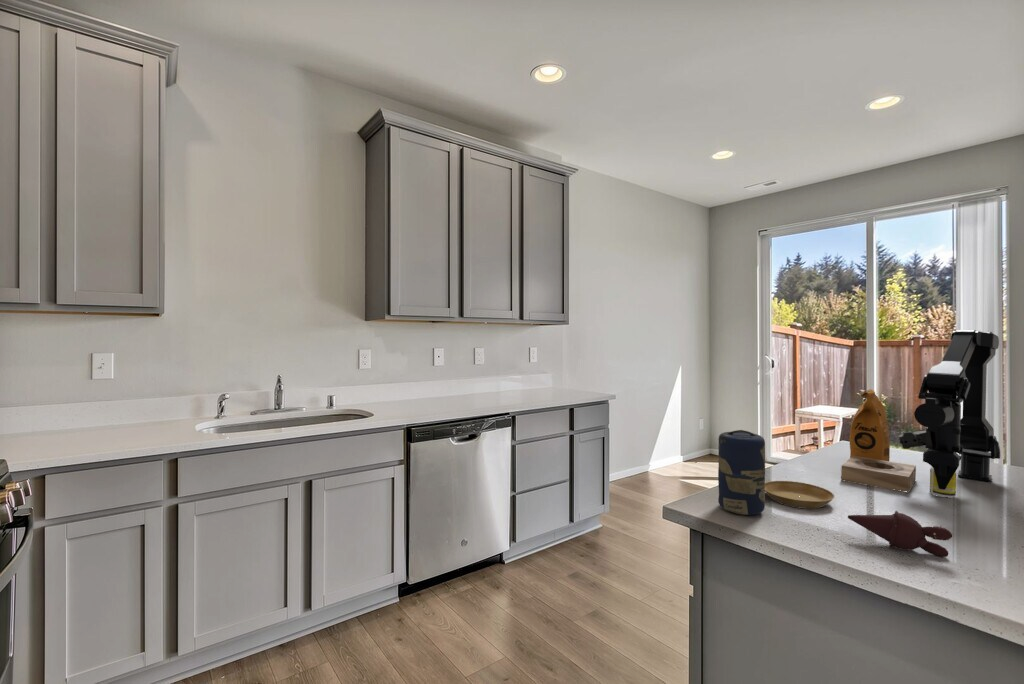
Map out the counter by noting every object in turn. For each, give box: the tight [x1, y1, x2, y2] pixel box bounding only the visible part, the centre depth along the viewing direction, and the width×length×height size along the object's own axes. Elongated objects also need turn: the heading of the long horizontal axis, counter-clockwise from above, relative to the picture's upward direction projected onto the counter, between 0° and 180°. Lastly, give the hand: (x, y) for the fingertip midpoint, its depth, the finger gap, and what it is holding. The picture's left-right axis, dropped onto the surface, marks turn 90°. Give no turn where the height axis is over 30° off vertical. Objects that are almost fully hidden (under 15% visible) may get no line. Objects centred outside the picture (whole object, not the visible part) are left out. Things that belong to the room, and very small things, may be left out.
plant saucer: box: [765, 480, 835, 510], centre depth 114 cm, size 15×15×3 cm
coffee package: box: [849, 388, 891, 461], centre depth 145 cm, size 10×12×22 cm
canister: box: [717, 429, 766, 516], centre depth 108 cm, size 10×10×18 cm
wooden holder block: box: [840, 456, 917, 493], centre depth 129 cm, size 14×14×4 cm
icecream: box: [847, 510, 953, 558], centre depth 89 cm, size 7×7×15 cm
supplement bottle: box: [929, 466, 957, 499], centre depth 117 cm, size 5×5×8 cm
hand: (942, 486), depth 117 cm, fingers closed on supplement bottle, 5 cm apart
